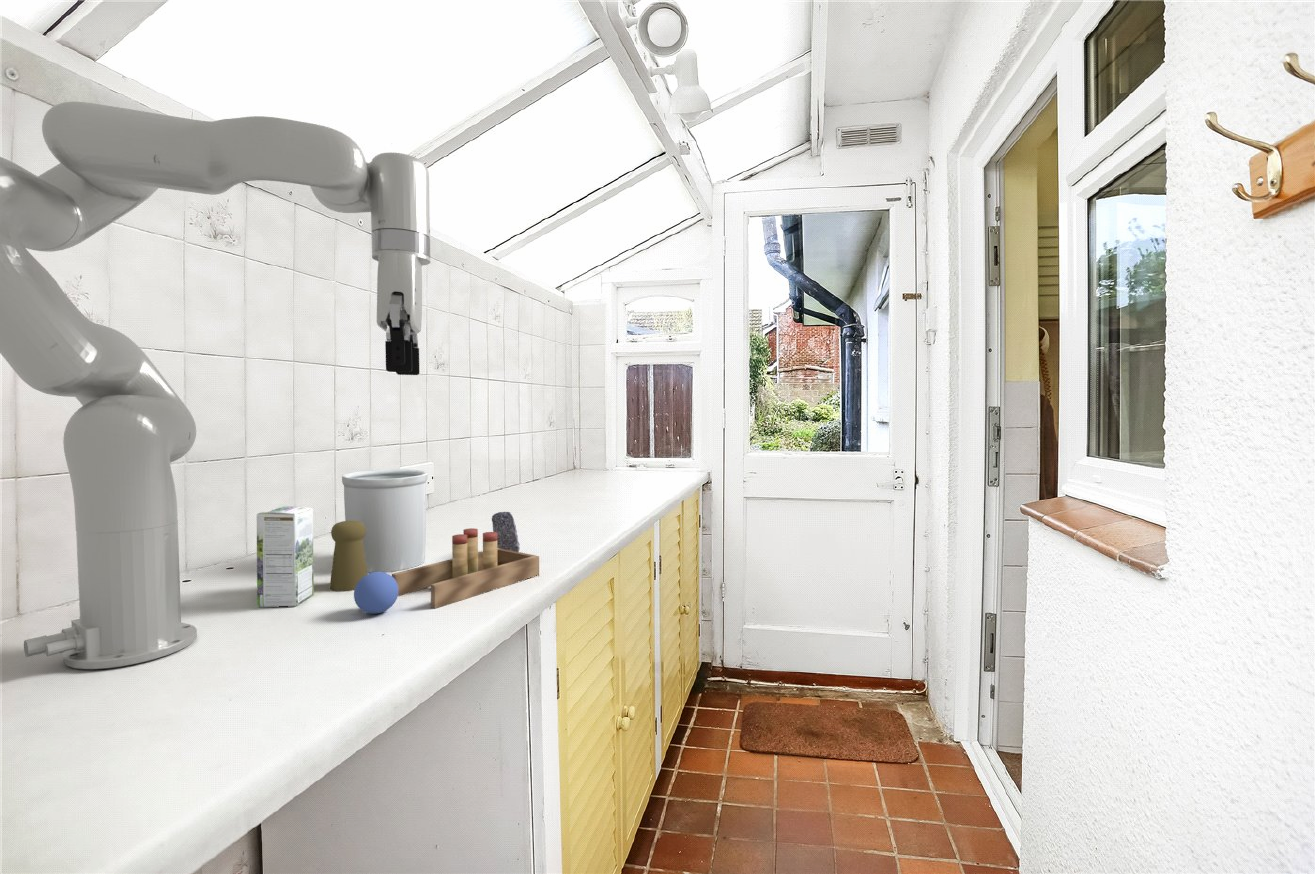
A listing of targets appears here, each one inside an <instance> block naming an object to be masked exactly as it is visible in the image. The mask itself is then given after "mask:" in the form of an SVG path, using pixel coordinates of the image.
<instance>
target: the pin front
mask: <svg viewBox="0 0 1315 874" xmlns="http://www.w3.org/2000/svg"><path fill="white" fill-rule="evenodd" d="M451 539H452V540H451V541H452V542H451V543H452V544H451V546H452V547H451V548H452V549H451V550H452V551H451V554H452V555H451V557H452V558H451V559H452V566H453V578H456V577H460V576H463V575H467V574H468V562H467V535H465V534H462V533H461V534H460V533H459V534H454V535H452V536H451Z"/></svg>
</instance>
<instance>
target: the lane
mask: <svg viewBox="0 0 1315 874" xmlns="http://www.w3.org/2000/svg"><path fill="white" fill-rule="evenodd" d="M536 575H539V576H540V556H539V555H535V554H530V553H525V552H520V551H519V552H516V551H511V550H506V549H501V548H497V566H495V567H492V568H488V569H485V570H483V551H478V571H477V572H474V573H470V574H467V575H463V576H460V577H456V578H453V566H452V558H451V559H447V560H443V561H439V562H435V563H430V564H427V565H426V564H425V565H422V566H419V567H418V566H417V567H413V568H409V569H405V570H401V571H397V572H393V573H391V576H392V577H393V578H394V579H395V580H396V582H397V584H398V590H399V591H398V597H399V596H402V595H405V594H409V593H412V592H416V591H420V590H423V589H427V588H430V608H431V609H438V608H441V607H444V605H445V606H448V605H451V604H454V603H457V602H461V601H463V600H465V599H466V598H467V599H469V597H470V598H472V596H473V597H475V595H476V596H479V595H482V594H484V592H485V593H488V592H487V591H489V592H491V591H490V590H492V591H494V590H493V589H495V590H497V589H496V588H498V589H501V588H504V587H507V586H511V585H513V583H514V584H516V582H517V583H519V582H518V581H520V582H523V581H525V580H524V579H526V580H528V579H527V578H529V579H531V578H530V577H532V578H534V577H533V576H536ZM536 577H537V576H536ZM522 580H523V581H522ZM481 593H482V594H481ZM447 604H448V605H447Z"/></svg>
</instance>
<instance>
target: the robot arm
mask: <svg viewBox="0 0 1315 874" xmlns="http://www.w3.org/2000/svg"><path fill="white" fill-rule="evenodd" d="M42 118H43V119H42V122H41V131H42V132H41V133H42V136H43V140H44V142H45V144H46V146H47V148H48V149H49V151H50V153H51V154H52V155H53V157H54V158H55V159H56V160H57V161H58V164H57V165H55V166H53V167H52V168H50V169H48V170H46V171H45V172H43V173H42V174H40V175H36V174H34V173H32V172H31V171H29V170H27V169H25V168H24V167H22V166H20V165H18V164H17V163H15V162H13V161H11V160H10V159H9V160H8V159H7V158H4V157H2V156H0V355H1V356H2V357H3V358H4V359H5V361H6V362H7V363H8V365H9V366H10V368H12V370H13V371H14V372H15V374H16V375H17V376H18V377H19V378H20V379H21V380H22V381H23V382H24V383H25V384H26V385H28V386H29V387H30V388H32V389H34V390H35V391H39V392H41V393H43V394H47V395H49V396H50V395H51V396H57V397H65V398H66V397H67V398H68V397H69V398H71V397H72V398H75V399H76V400H77V401H78V402H79V403H80V404H81V406H80V407H79V408H77V410H76V411H75V412H74V413H73V414H71V417H70V418H69V419H68V422H67V424H65V429H64V432H63V439H62V440H63V441H62V443H63V453H64V458H65V461H66V466H67V469H68V473H69V477H70V482H71V486H72V487H71V489H72V494H73V504H74V505H73V507H74V519H75V520H74V521H75V532H76V533H75V534H76V535H75V536H76V537H75V538H76V554H77V556H76V557H77V579H78V583H77V584H78V605H79V618H77V619H71V626H70V627H66V628H63V629H61V631H60V632H59V633H54V634H51V635H41V636H37V637H33V638H27V639H24V640H23V650H24V651H23V652H24V654H25V656H26V658H28V657H32V656H36V655H41V654H45V655H46V657H49V656H55V655H58V654H63V663H64V665H65V666H67V667H69V668H72V669H79V670H101V669H102V670H103V669H104V670H105V669H112V668H118V667H119V668H120V667H127V666H132V665H136V664H141V663H146V662H149V661H153V660H156V659H159V658H163V657H165V656H169V655H172V654H174V653H176V652H178V651H179V652H180V650H183V649H185V648H187V647H188V646H189V645H191V644H193V643H194V641H195V640H197V637H198V632H197V628H196V626H195V625H192V624H190V623H185V622H182V604H181V580H180V579H181V577H180V574H181V572H180V548H179V545H180V544H179V543H180V542H179V522H178V521H179V520H178V501H177V492H176V488H175V487H176V485H175V481H174V476H173V472H172V466H171V463H174V462H176V461H178V460H179V459H181V458H183V457H184V456H186V454H187V453H188V452H189V451H190V450H191V448H192V447H193V445H194V443H195V441H196V439H197V437H196V436H197V425H196V421H195V418H194V417H193V415H192V413H191V411H190V410H189V409H188V407H187V405H186V404H185V403H184V401H182V399H181V397H180V396H179V395H178V394H177V392H176V391H175V389H173V388H172V386H171V385H170V384H169V383H168V381H167V380H166V379H165V377H164V375H163V374H162V373H161V371H159V369H157V367H156V365H154V363H153V361H151V359H150V358H149V357H148V356H147V354H146V353H145V352H144V351H143V350H142V348H141V347H139V346H138V344H136V342H134V341H133V340H132V339H131V338H129V336H127V335H125V334H124V333H122V332H120V331H119V330H116V329H114V328H111V327H109V326H106V325H102V324H99V323H95V322H93V321H92V320H90V319H88V318H87V316H86V315H85V314H83V313H82V312H81V310H80V309H79V308H78V307H77V306H76V305H75V303H73V301H72V300H71V299H70V298H69V297H68V295H67V294H66V292H64V290H63V289H62V287H61V286H60V285H59V284H58V282H57V280H55V278H54V277H53V275H51V274H50V272H49V271H48V270H47V269H46V268H45V267H44V266H43V265H42V264H41V263H40V262H39V261H38V260H37V258H35V256H33V255H32V254H31V252H29V250H32V251H38V252H50V253H52V252H58V251H64V250H67V249H70V248H73V247H74V246H77V245H79V244H81V243H83V242H84V241H86V240H87V239H89V238H91V237H92V236H93V235H95V234H97V233H98V232H100V231H101V230H103V229H104V228H106V227H108V226H110V225H111V224H112V223H115V221H118V220H119V219H120V218H122V217H124V216H125V215H127V214H128V213H130V212H132V210H134V209H135V208H137V207H139V206H140V205H141V204H142V203H144V202H145V201H146V200H148V199H149V198H150V197H152V195H153V194H155V193H156V192H157V191H158V190H159V189H165V190H174V191H179V192H181V191H182V192H188V193H195V194H196V193H197V194H202V195H203V194H204V195H211V196H212V195H213V196H214V195H220V194H223V193H226V192H227V191H229V190H230V189H232V187H235V186H236V185H238V184H241V183H245V182H254V181H255V182H256V181H270V182H278V183H279V182H280V183H289V184H297V185H301V186H302V185H303V186H309V187H310V189H311V192H312V193H313V195H314V197H315V198H316V199H317V201H319V203H320V204H321V205H322V206H324V208H325V207H326V208H327V209H328V210H331V211H334V212H337V213H342V214H359V213H360V214H363V213H370V224H371V225H370V226H371V227H370V229H371V230H370V231H371V258H372V260H374V261H377V262H378V263H377V276H376V277H377V279H376V280H377V282H376V283H377V284H376V285H377V286H376V291H377V292H376V325H377V326H378V327H379V328H380V329H381V330H383V331H385V338H386V339H385V345H384V346H385V348H384V349H385V371H386V372H390V373H393V372H394V373H396V374H397V375H399V376H419V374H420V348H419V342H418V340H419V339H418V334H420V333H421V331H422V319H423V318H422V315H423V274H422V273H423V272H422V271H423V270H422V267H423V266H428V265H429V264H431V226H430V225H431V221H430V220H431V219H430V218H431V217H430V176H429V170H428V167H427V166H426V164H425V163H424V162H423V161H422V160H421V159H420V158H417V157H415V156H413V155H410V154H405V153H400V152H383V153H379V154H377V155H375V156H374V157H373V158H372V159H371V161H370V162H367V161H366V158H365V156H364V153H363V151H362V149H361V148H360V146H359V145H358V144H357V143H356V141H354V140H353V139H352V138H351V137H350V136H348V135H347V134H345V133H343V132H341V131H339V130H337V129H335V128H332V127H329V126H325V125H320V124H317V123H311V122H305V121H299V120H295V119H294V120H293V119H287V118H283V117H282V118H281V117H273V116H256V115H255V116H254V115H253V116H244V117H243V116H242V117H235V118H234V117H233V118H232V117H231V118H223V119H219V120H214V121H213V120H211V121H208V120H207V121H206V120H200V119H193V118H185V117H179V116H175V115H167V114H161V113H155V112H149V111H145V110H144V111H142V110H137V109H131V108H124V107H120V106H112V105H106V104H101V103H92V102H85V101H65V102H60V103H58V104H56V105H53V106H52V107H50V108H49V109H48V110H47V111H46V112H45V114H44V116H43V117H42Z"/></svg>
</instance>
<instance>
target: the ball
mask: <svg viewBox="0 0 1315 874" xmlns="http://www.w3.org/2000/svg"><path fill="white" fill-rule="evenodd" d="M398 591H399V590H398V584H397V582H396V580H395V579H394V578H393V577H392V574H390V573H388V572H372V573H368V574H367V575H365V576H364V577H363V578H361V579H360V580H359V582H358V583H357V585H356V587H355V590H353V599H354V602H355V603H354V604H355V605H356V606H357V607H358V609H360V611H363V612H365V613H367V614H372V615H373V614H375V615H376V614H380V613H383V612H386V611H388V610H389V609H390V608H391V607H393V605H394V604H395V603H396V602H397V600H398V597H399V596H398Z"/></svg>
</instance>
